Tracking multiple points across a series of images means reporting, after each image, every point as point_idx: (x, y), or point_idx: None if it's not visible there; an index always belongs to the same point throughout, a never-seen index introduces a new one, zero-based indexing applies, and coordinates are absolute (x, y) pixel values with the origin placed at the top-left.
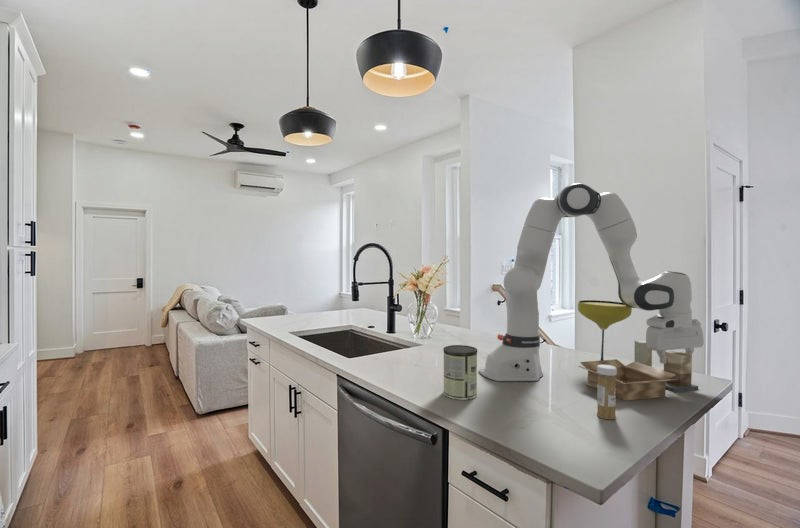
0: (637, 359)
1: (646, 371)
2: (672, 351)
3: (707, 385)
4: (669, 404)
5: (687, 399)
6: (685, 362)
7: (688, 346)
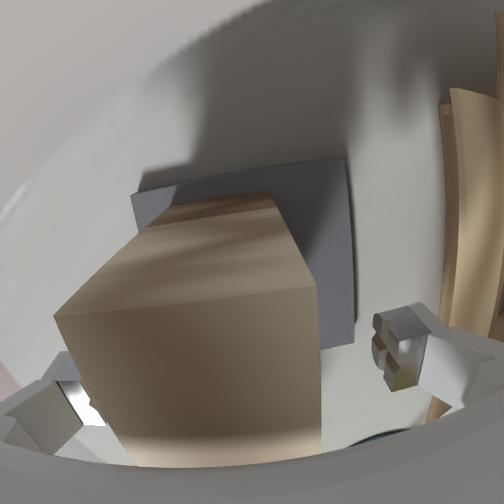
0: None
1: (494, 272)
2: None
3: (46, 255)
4: (477, 27)
5: (359, 37)
6: (206, 252)
7: (21, 469)
